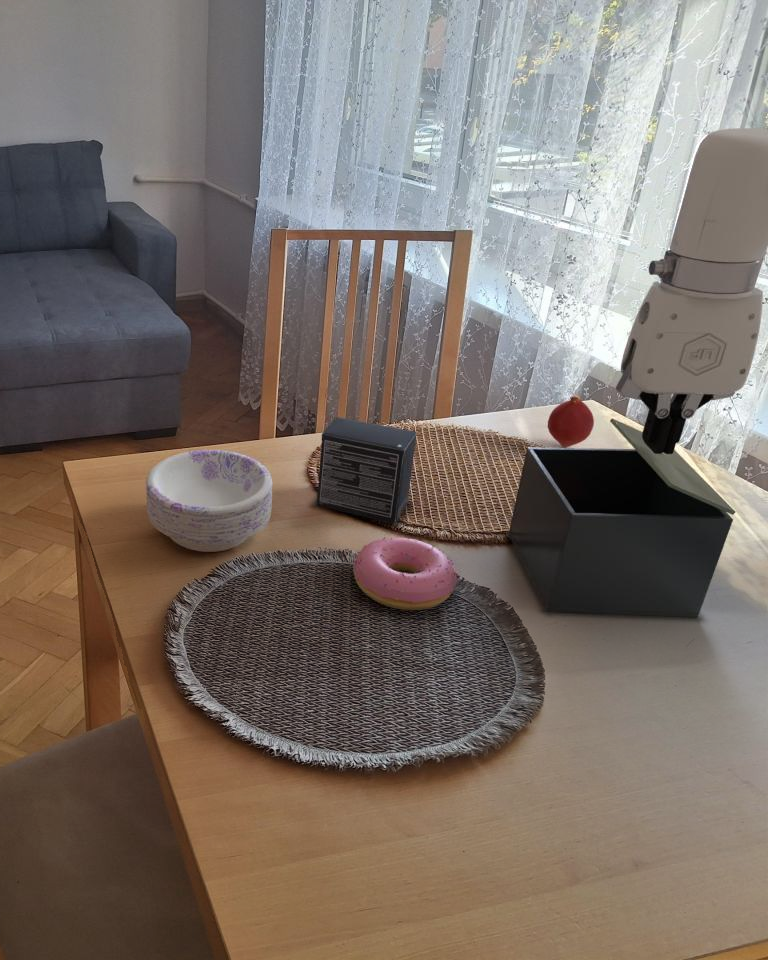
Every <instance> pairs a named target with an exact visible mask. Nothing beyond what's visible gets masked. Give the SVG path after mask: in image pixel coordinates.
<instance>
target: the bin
mask: <svg viewBox="0 0 768 960" xmlns="http://www.w3.org/2000/svg"><path fill="white" fill-rule="evenodd" d="M733 521H734V518H733V517H731V515H730V513H727V512H725V511H723V510H721V509H718V508H716V507H714V506H712V505H709V504H707V503H705V502H703V501H700V500H698V499H696V498H694V497H691V496H689V495H687V494H685V493H682V492H680V491H678V490H675V489H673V488H671V487H669V486H668V485H667V484H666V483H665V482H664V481H663V480H662V478H661V477H660V476H659V475H658V474H657V473H656V472H655V471H654V470H653V468H652V467H651V466H650V465H649V464H648V463H647V462H646V461H645V460H644V458H643V457H642V456H641V455H640V454H639V453H638V452H637V451H636V450H635V449H634V448H594V447H593V448H589V447H587V448H586V447H585V448H584V447H536V446H535V447H532V446H530V447H529V446H528V447H526V451H525V457H524V460H523V465H522V469H521V475H520V479H519V483H518V489H517V492H516V497H515V501H514V506H513V511H512V516H511V521H510V525H509V529H508V534H507V535H508V538H509V540H510V542H511V543H512V545H513V547H514V550H515V551H516V553H517V555H518V557H519V559H520V561H521V564H522V565H523V566H524V569H525V571H526V572H527V574H528V577H529V578H530V580H531V582H532V584H533V586H534V588H535V590H536V592H537V593H538V595H539V597H540V599H541V602H542V604H543V605H544V607H545V609H546V611H547V612H551V613H552V612H553V613H575V614H576V613H579V614H603V615H604V614H605V615H629V616H631V615H632V616H657V617H658V616H659V617H680V618H681V617H682V618H683V617H684V618H685V617H686V618H698V617H699V615H700V612H701V611H702V607H703V604H704V601H705V599H706V596H707V593H708V591H709V589H710V588H709V587H710V585H711V582H712V579H713V576H714V574H715V571H716V568H717V565H718V562H719V560H720V558H721V555H722V552H723V550H724V547H725V544H726V541H727V538H728V535H729V533H730V531H731V527H732V524H733Z"/></svg>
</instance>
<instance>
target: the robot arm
mask: <svg viewBox="0 0 768 960" xmlns="http://www.w3.org/2000/svg"><path fill="white" fill-rule="evenodd" d="M688 171H689V172H688V175H687V179H686V183H685V187H684V190H683V194H682V198H681V202H680V205H679V209H678V212H677V216H676V221H675V223H674V227H673V230H672V234H671V238H670V242H669V245H668V250H665V253H664V257H663V258H660V259H659V260H651V261H650V262H649V266H648V274H649V275H650V276H658V278H659V279H660V280H659V281H657V280H656V281H653V282H652V284H651V286H650V287H649V289H648V291H647V293H646V295H645V297H644V299H643V300H642V302H641V305H640V307H639V308H638V312H637V313H636V316H635V319H634V322H633V324H632V327H631V329H630V332H629V335H628V337H627V341H626V343H625V344H626V345H625V348H624V350H623V354H622V358H621V364H620V373H621V377H620V378H619V380H618V382H617V384H616V386H615V390H616V391H617V392H618V393H619V395H620V396H622V397H625V398H629V399H632V400H639V401H641V402H642V403H643V404H644V405H645V407H646V408H647V409H648V412H647V415H646V418H645V422H644V426H643V430H642V432H643V433H642V438H643V440H644V443H645V444H646V445H647V446H648V447H649V448H650V449H651V450H652V451H653V453H654V454H661V453H663V452H664V453H665V454H673V452H674V450H675V447H676V445H677V444H678V443H680V441H681V437H682V434H683V431H684V429H685V426H686V425H685V424H686V422H687V420H689V419H691V418H693V416H695V413H696V412H697V410H699V409H700V408H702V407H703V406H705V405H706V404H708V403H709V402H711V401H718V400H722V399H727V398H731V397H733V396H734V395H735V394H736V392H738V391H740V390H741V389H742V388H744V386H745V384H746V383H747V380H748V377H749V374H750V372H751V367H752V365H753V361H754V357H755V352H756V348H757V343H758V339H759V334H760V328H761V322H762V313H763V301H764V300H763V299H764V291H763V290H762V289H760V288H758V287H756V283H757V282H758V278H759V275H760V272H761V269H762V267H763V263H764V259H765V257H766V253H767V251H768V125H766V126H765V127H764V128H750V127H749V128H748V127H747V128H743V127H741V128H724V129H717V130H714V131H711V132H709V133H707V134H706V135H704V136H703V137H702V138H701V139H700V141H699V142H698V144H697V146H696V148H695V150H694V153H693V157H692V159H691V163H690V168H689V170H688Z"/></svg>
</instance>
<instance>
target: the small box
mask: <svg viewBox="0 0 768 960" xmlns="http://www.w3.org/2000/svg"><path fill="white" fill-rule="evenodd" d="M417 437H418V432H417V431H414V430H409V429H404V428H399V427H392V426H386V425H382V424H376V423H371V422H366V421H360V420H354V419H350V418H345V417H340V416H339V417H336V418H335V419H333V421H332V422H330V424H329V425H328V426H327V427H326V429H324V430H323V432H322V433H321V444H320V445H321V447H320V449H321V450H320V458H319V459H320V460H319V470H318V482H317V493H316V494H317V495H316V501H315V505H316V507H321V508H324V509H329V510H333V511H337V512H341V513H345V514H349V515H354V516H359V517H363V518H367V519H372V520H374V521H379V522H383V523H387V524H391V525H396V524H397V523H398V521H399V519H400V518H401V516H402V513H403V512H404V511H405V509H406V507H407V505H408V501H409V493H410V487H411V479H412V471H413V465H414V458H415V452H416V444H417Z"/></svg>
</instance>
